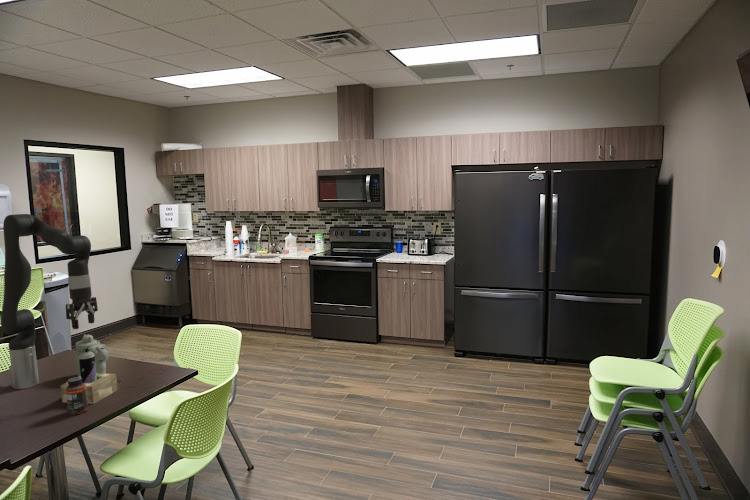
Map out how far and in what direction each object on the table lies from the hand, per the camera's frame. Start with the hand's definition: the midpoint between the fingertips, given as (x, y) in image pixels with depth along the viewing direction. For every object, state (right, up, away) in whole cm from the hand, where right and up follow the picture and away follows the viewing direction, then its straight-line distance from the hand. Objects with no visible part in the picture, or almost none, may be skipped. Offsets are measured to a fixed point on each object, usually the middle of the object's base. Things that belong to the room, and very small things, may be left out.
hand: (83, 326), depth 204 cm
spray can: (+1, -29, +4) cm, 30 cm away
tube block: (+1, -29, +3) cm, 29 cm away
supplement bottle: (+5, -31, -11) cm, 33 cm away
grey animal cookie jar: (-10, -27, +27) cm, 39 cm away
